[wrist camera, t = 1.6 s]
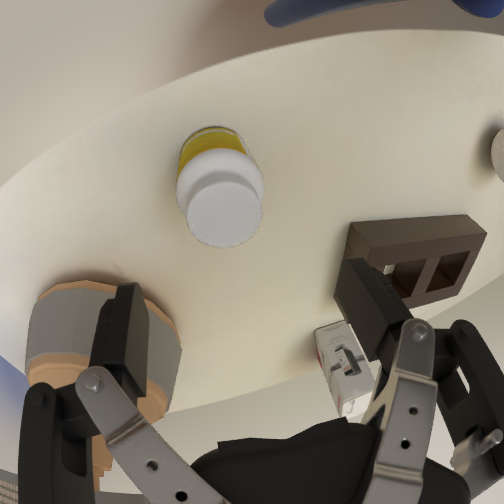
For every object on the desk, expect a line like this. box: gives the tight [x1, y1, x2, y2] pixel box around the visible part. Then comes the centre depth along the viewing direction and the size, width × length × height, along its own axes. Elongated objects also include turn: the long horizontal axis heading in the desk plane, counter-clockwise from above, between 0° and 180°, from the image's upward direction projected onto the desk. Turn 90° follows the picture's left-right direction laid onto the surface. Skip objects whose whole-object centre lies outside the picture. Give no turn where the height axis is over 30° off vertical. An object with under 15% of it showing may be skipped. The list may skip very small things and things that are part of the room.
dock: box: [334, 215, 487, 324], centre depth 32 cm, size 11×19×4 cm, turn 90°
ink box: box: [315, 320, 375, 419], centre depth 37 cm, size 9×5×12 cm, turn 13°
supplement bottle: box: [176, 125, 265, 248], centre depth 19 cm, size 5×5×10 cm
